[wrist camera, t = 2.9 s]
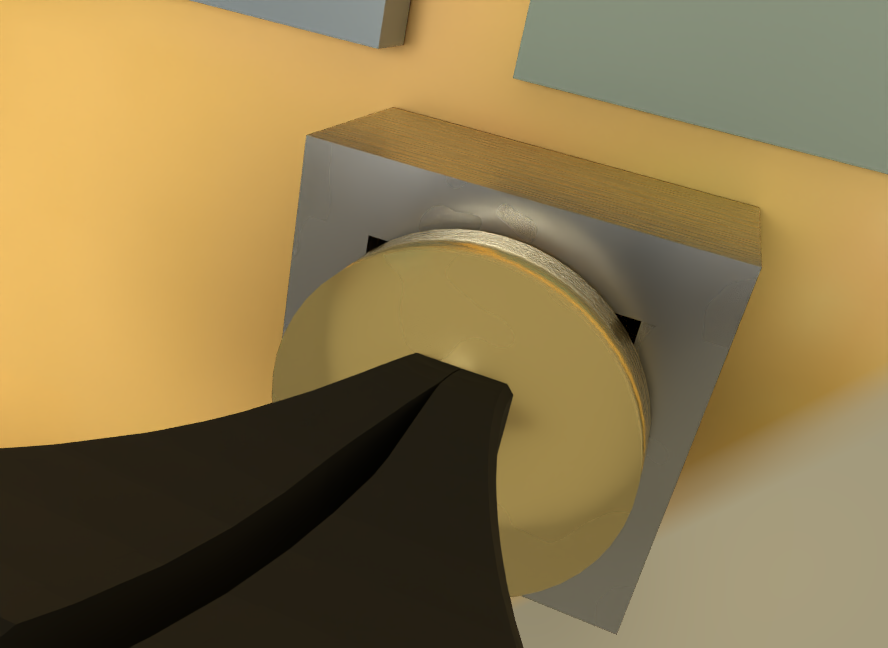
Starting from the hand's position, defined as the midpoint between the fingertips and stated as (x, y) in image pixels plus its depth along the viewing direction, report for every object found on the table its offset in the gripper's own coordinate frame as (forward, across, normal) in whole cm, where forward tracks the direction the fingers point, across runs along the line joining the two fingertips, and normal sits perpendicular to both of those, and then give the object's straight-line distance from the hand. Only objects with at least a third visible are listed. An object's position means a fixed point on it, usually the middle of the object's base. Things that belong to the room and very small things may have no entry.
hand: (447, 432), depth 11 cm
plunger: (+4, 0, 0) cm, 4 cm away
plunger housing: (+4, 0, 0) cm, 4 cm away
